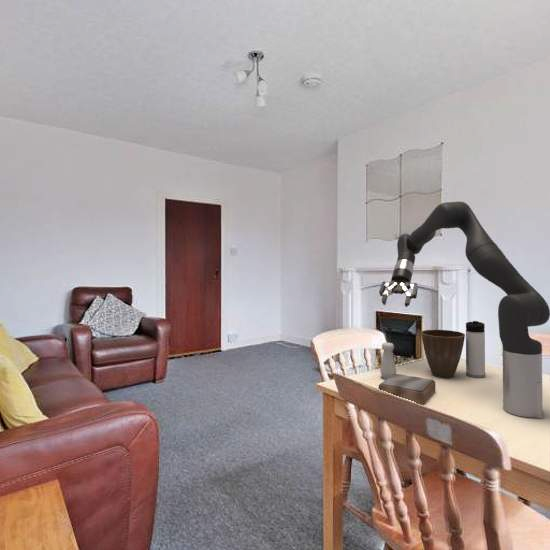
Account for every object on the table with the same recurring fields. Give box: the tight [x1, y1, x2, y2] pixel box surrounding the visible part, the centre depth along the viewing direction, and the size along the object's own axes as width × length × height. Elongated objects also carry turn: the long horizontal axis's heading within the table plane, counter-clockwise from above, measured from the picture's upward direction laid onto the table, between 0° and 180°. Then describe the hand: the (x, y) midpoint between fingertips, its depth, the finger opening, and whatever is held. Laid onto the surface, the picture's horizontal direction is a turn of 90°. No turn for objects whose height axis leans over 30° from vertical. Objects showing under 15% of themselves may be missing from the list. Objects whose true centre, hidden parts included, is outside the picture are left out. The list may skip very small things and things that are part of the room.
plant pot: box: [420, 329, 466, 379], centre depth 138 cm, size 15×15×16 cm
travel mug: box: [465, 320, 486, 379], centre depth 137 cm, size 6×7×20 cm
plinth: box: [378, 373, 437, 406], centre depth 120 cm, size 14×14×4 cm
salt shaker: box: [379, 342, 397, 380], centre depth 137 cm, size 6×6×13 cm
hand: (394, 304), depth 144 cm, fingers open, 8 cm apart
